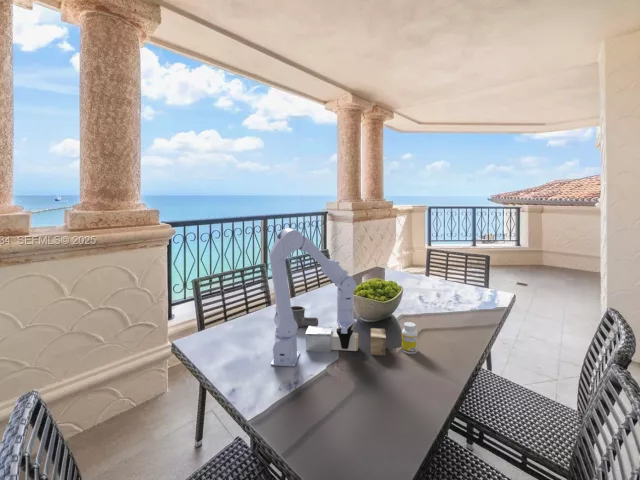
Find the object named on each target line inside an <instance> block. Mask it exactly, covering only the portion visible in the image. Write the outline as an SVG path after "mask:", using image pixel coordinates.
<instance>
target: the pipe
mask: <svg viewBox="0 0 640 480" xmlns="http://www.w3.org/2000/svg"><path fill="white" fill-rule="evenodd" d="M291 308H292V312H293V317H294V320H295V321H296V323H297V325H298V328H302V327H306V328H308V327H309V326H319V318H318V317H305V310H306V308H305V307H304V306H300V305H293V306H292V305H291Z"/></svg>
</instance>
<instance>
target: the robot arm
mask: <svg viewBox="0 0 640 480" xmlns="http://www.w3.org/2000/svg"><path fill="white" fill-rule="evenodd" d="M297 250H299V251H302V252H306V253H307V254H309V256H310V257H312V258H313V259H314V260H315V261H316V262H317V264H319V265H320V266H321V269H320V271H321V273H323V274H324V275H325V276H326V277H327V278H328V279H329V280H330V281H331V282H332V283H333V284H334V286H335V287H337V290H336V291H337V292H336V293H337V296H336V303H337V305H336V307H337V309H336V311H337V312H336V313H337V314H336V316H337V319H336V323H337V325H338V326H339V328H336V331H335V332H337V334H338V336H339V338H340V342H341V347H342V349H348V346H349V340H350V337H351V335H352V333H354V330H353V329H352V328H353V326H354V324H357V323H358V322H357V321H358V320H357V319H356V318H354V292H355V290H356V289H357V283H356V280H355V279H354V278H353V277H352V276H350V275H349V272H348V271H347V270H346V269H345V270H344V268H343V267H342V266H341V265H340V262H339V260H338V259H337V260H335V259H332V258H331V259H329V258H327V256H326V255H324V253H323V252H322V251H321V250H320V249H319V248H318V247H317V245H316V244H315V243H313V242H312V240H311V239H309V238H308V237H306V236H305V235H303V234H302V233H301V232H300V231H299V230H297V229H294V228H292V227H285V228H283V229H282V230H280V232H279V233H278V234H276V237H275V240H274V243H273V244H272V247H271V249H270V251H269V263H270V271H271V278H272V286H273V290H274V292H273V293H274V299H275V314H274V318H273V321H274V323H275V326H276V329H275V330H274V344H273V347H272V351H273V352H272V353H273V356H272V357H273V359H272V361H271V362H270V365H271V366H277V367H278V366H279V367H280V366H281V367H296V364H297V361H298V359H299V356H300V354H301V351H298V344H297V343H298V340H297V339H298V337H297V334H298V333H297V332H298V328H299V327H298V325H297V323H296V321H295V320H294V317H293V312H292V308H291V307H292V305H291V304H292V303H291V297H290V289H289V280H288V275H287V274H288V273H287V267H286V265H287V264H286V259H287V258H288V257H289V256H290V255H291V254H292V253H294V252H296V251H297Z"/></svg>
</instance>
